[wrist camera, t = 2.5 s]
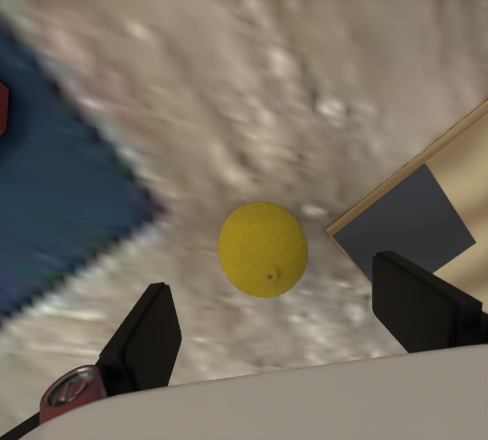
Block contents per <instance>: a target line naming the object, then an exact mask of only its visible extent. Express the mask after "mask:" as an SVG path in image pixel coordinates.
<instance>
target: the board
mask: <svg viewBox="0 0 488 440" xmlns="http://www.w3.org/2000/svg"><path fill="white" fill-rule="evenodd" d="M325 231H326V232H327V233H328V234H329V236H330V237H331V238H332V239H333V240H334V241H335V243H336V244H337V245H338V246H339V247H340V249H341V250H342V251H343V252H344V253H345V255H346V256H347V257H348V258H349V259H350V261H351V262H352V263H353V264H354V265H355V266H356V268H357V269H358V270H359V271H360V272H361V274H362V275H363V276H364V277H365V278H366V280H367V281H368V282H369V283H370V284H371V286H372V258H373V256H375V255H376V253H377V252H382V251H389V250H392V251H394V252H396V253H397V254H399V255H401V256H403V257H404V258H406V259H408V260H409V261H411V262H413V263H415V264H416V265H418V266H420V267H422V268H423V269H425V270H427V271H429V272H430V273H432V274H434V275H436V276H437V277H439V278H441V279H443V280H444V281H446V282H448V283H450V284H451V285H453V286H455V287H457V288H458V289H460V290H462V291H464V292H465V293H467V294H469V295H471V296H472V297H474V298H476V299H478V300H479V301H481V302H483V306H482V311H484V312H485V313H487V314H488V100H487V101H485V102H484V103H483V104H482V105H480V106H479V107H478V108H477V109H475V110H474V111H473V112H472V113H470V114H469V115H468V116H467V117H465V118H464V119H463V120H462V121H460V122H459V123H458V124H457V125H455V126H454V127H453V128H452V129H450V130H449V131H448V132H447V133H445V134H444V135H443V136H442V137H440V138H439V139H438V140H437V141H435V142H434V143H433V144H432V145H430V146H429V147H428V148H427V149H425V150H424V151H423V152H422V153H421V154H419V155H418V156H417V157H416V158H414V159H413V160H412V161H411V162H409V163H408V164H407V165H406V166H404V167H403V168H402V169H401V170H399V171H398V172H397V173H396V174H394V175H393V176H392V177H391V178H389V179H388V180H387V181H386V182H384V183H383V184H382V185H381V186H379V187H378V188H377V189H376V190H374V191H373V192H372V193H371V194H369V195H368V196H367V197H366V198H364V199H363V200H362V201H361V202H359V203H358V204H357V205H356V206H354V207H353V208H352V209H351V210H349V211H348V212H347V213H346V214H344V215H343V216H342V217H341V218H339V219H338V220H337V221H336V222H334V223H333V224H332V225H331V226H329V227H328V228H327V229H326V230H325Z"/></svg>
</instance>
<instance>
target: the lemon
mask: <svg viewBox="0 0 488 440" xmlns="http://www.w3.org/2000/svg"><path fill="white" fill-rule="evenodd" d="M218 255H219V259H220V262H221V266H222V269H223V271H224V272H225V274H226V276H227V277H228V279H229V281H230V282H231V283H232V284H233V285H235V286H236V287H237V288H238V289H239V290H241V291H242V292H244V293H246V294H248V295H252V296H255V297H263V298H268V297H274V296H278V295H280V294H283V293H285V292H287V291H288V290H290V289H291V288H292V287H293V286H294V285H295V284H296V283H297V282H298V281H299V280H300V278H301V277H302V275H303V273H304V271H305V268H306V264H307V260H308V247H307V241H306V238H305V234H304V231H303V229H302V227H301V226H300V224H299V223H298V221H297V220H296V218H295V217H294V216H293V215H292V214H291V213H289V212H288V211H287V210H286V209H284V208H282V207H280V206H278V205H276V204H273V203H268V202H253V203H249V204H246V205H243V206H242V207H240V208H238V209H237V210H235V211H234V212H233V213H232V214H231V215H230V216H229V217H228V218H227V220H226V222H225V223H224V225H223V227H222V229H221V232H220V236H219V240H218Z"/></svg>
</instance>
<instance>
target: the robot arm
mask: <svg viewBox="0 0 488 440" xmlns="http://www.w3.org/2000/svg"><path fill="white" fill-rule="evenodd" d="M482 306H483V302H481V301H479V300H478V299H476V298H474V297H472V296H471V295H469V294H467V293H465V292H464V291H462V290H460V289H458V288H457V287H455V286H453V285H451V284H450V283H448V282H446V281H444V280H443V279H441V278H439V277H437V276H436V275H434V274H432V273H430V272H429V271H427V270H425V269H423V268H422V267H420V266H418V265H416V264H415V263H413V262H411V261H409V260H408V259H406V258H404V257H403V256H401V255H399V254H397V253H396V252H394V251H392V250H389V251H382V252H377V253H376V255H375V256H373V258H372V309H373V312H374V314H375V316H376V317H377V318H378V319H379V320H380V321H381V323H382V324H383V325H384V326H385V327H386V328H387V329H388V330H389V332H390V333H391V334H392V335H393V336H394V337H395V338H396V339H397V340H398V342H399V343H400V344H401V345H402V346H403V347H404V348H405V349H406V351H407V352H408V354H400V355H392V356H385V357H377V358H370V359H363V360H355V361H348V362H340V363H333V364H325V365H318V366H311V367H303V368H296V369H289V370H282V371H274V372H267V373H260V374H252V375H245V376H238V377H231V378H224V379H217V380H209V381H202V382H195V383H188V384H181V385H174V386H168V383H169V380H170V377H171V373H172V370H173V367H174V364H175V361H176V357H177V354H178V351H179V348H180V345H181V340H182V335H181V330H180V326H179V322H178V318H177V314H176V310H175V306H174V302H173V298H172V294H171V290H170V286H169V285H166V284H165V283H164V282H160V283H153V284H150V285H149V286H148V288H147V289H146V291H145V292H144V293H143V295H142V296H141V298H140V299H139V300H138V302H137V303H136V305H135V306H134V307H133V309H132V310H131V312H130V313H129V314H128V316H127V317H126V318H125V320H124V321H123V323H122V324H121V325H120V327H119V328H118V330H117V331H116V332H115V334H114V335H113V337H112V338H111V339H110V341H109V342H108V344H107V345H106V346H105V348H104V349H103V351H102V352H101V353H100V355H99V357H100V358H99V360H98V361H97V363H96V364H95V365H84V366H81V367H78V368H76V369H74V370H71V371H69V372H68V373H66V374H65V375H63V376H62V377H60V378H59V379H58V380H57V381H55V382H54V383H53V384H52V385H51V386H50V387H49V388H48V389H47V391H46V392H45V393H44V395H43V397H42V398H41V402H40V411H39V412H38V413H36V414H35V415H33V416H32V417H30V418H29V419H27V420H26V421H24V422H23V423H21V424H20V425H18V426H17V427H15V428H13V429H12V430H10V431H9V432H7V433H6V434H4V435H3V436H1V437H0V440H488V314H487V313H485V312H484V311H482Z"/></svg>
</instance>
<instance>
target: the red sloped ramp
mask: <svg viewBox="0 0 488 440" xmlns="http://www.w3.org/2000/svg"><path fill="white" fill-rule="evenodd" d="M8 98H9V89H8V88H7V87H6V86H4V85H3V84H2V83H1V82H0V135H1V134H2V133H3V132H4V131H5V130H6V127H7V112H8Z"/></svg>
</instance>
